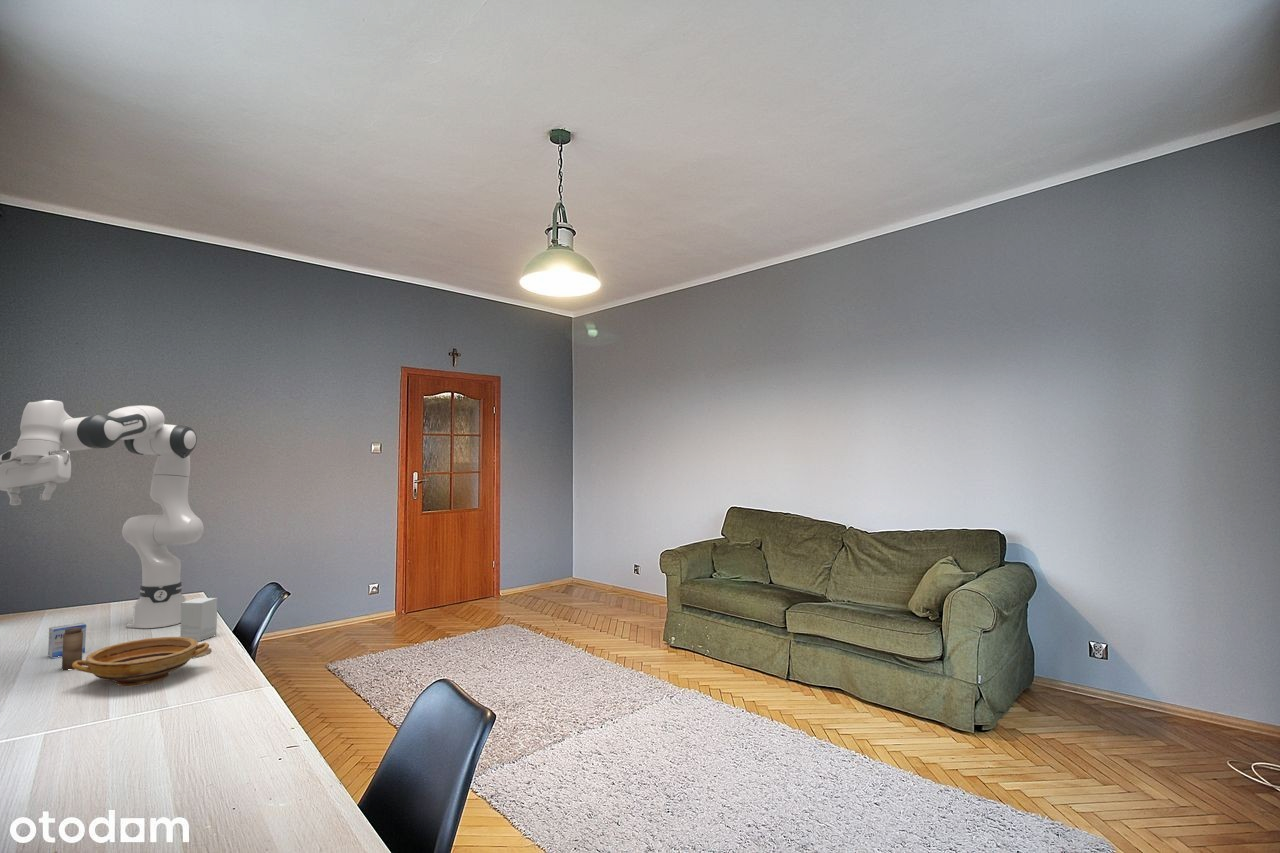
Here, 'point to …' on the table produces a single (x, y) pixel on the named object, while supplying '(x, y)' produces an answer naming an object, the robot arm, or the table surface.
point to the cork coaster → (204, 652)
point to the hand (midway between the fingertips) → (29, 502)
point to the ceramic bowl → (141, 659)
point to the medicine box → (57, 638)
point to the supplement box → (199, 618)
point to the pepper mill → (72, 647)
